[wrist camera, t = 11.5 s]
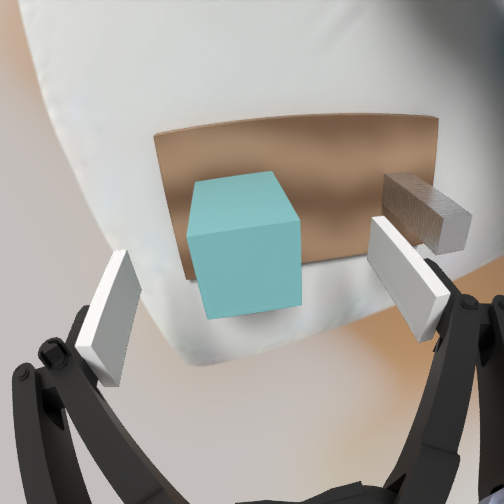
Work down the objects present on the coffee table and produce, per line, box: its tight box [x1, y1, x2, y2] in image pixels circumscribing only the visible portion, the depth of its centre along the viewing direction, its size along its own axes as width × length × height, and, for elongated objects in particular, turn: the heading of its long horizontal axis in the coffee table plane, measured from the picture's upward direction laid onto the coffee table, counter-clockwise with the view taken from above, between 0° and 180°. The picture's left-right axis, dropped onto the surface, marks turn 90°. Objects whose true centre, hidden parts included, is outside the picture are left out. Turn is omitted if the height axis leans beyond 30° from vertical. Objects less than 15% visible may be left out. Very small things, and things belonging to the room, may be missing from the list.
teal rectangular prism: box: [186, 171, 302, 320], centre depth 19 cm, size 5×5×8 cm
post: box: [382, 172, 472, 255], centre depth 20 cm, size 3×3×8 cm
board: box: [154, 113, 439, 280], centre depth 23 cm, size 12×22×1 cm, turn 96°
